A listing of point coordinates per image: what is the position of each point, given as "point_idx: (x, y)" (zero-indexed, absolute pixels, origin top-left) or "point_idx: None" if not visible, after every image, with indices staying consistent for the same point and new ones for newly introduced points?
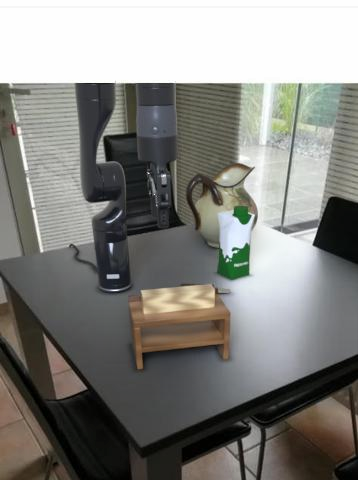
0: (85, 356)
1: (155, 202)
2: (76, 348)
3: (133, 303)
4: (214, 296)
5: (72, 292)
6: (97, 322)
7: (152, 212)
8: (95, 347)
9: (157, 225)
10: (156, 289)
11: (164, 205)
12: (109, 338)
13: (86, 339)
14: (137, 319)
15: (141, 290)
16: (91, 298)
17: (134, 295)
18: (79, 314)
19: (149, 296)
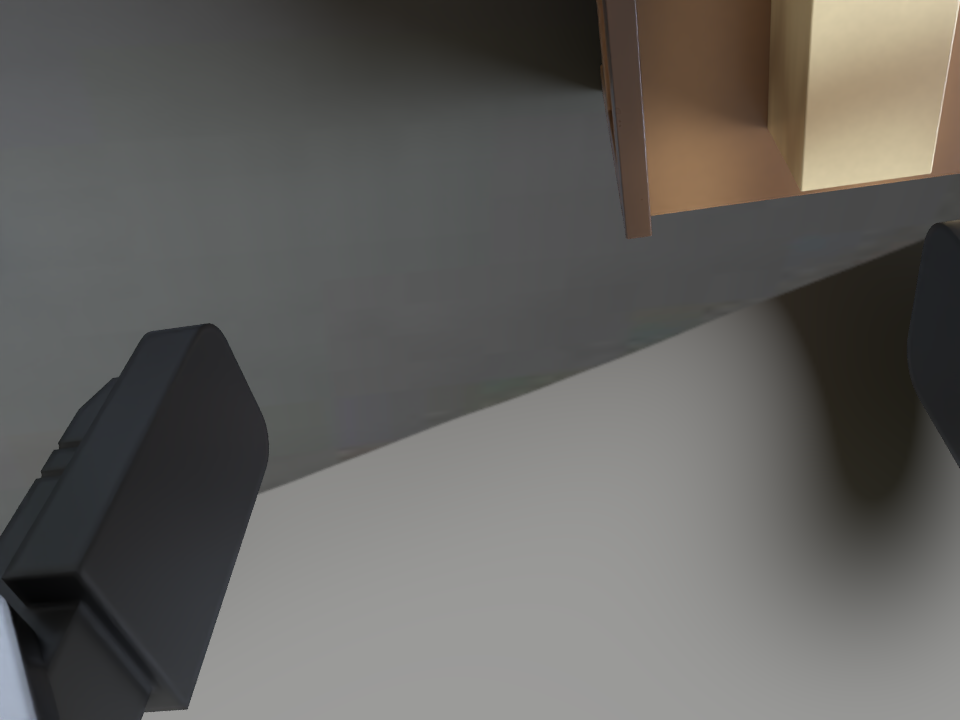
0: (678, 287)
1: (182, 578)
2: (600, 327)
3: (674, 186)
4: None
5: (40, 402)
6: (346, 272)
7: (252, 477)
8: (601, 257)
9: (923, 391)
10: (823, 67)
11: None
12: (517, 206)
13: (520, 299)
14: (945, 150)
15: (807, 186)
16: (82, 322)
17: (629, 198)
18: (270, 351)
19: (937, 120)
